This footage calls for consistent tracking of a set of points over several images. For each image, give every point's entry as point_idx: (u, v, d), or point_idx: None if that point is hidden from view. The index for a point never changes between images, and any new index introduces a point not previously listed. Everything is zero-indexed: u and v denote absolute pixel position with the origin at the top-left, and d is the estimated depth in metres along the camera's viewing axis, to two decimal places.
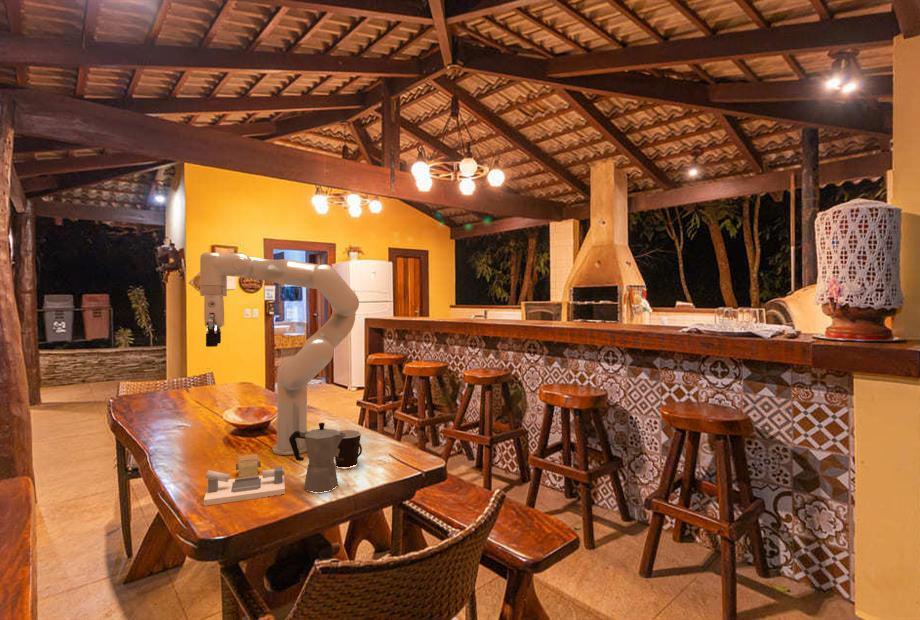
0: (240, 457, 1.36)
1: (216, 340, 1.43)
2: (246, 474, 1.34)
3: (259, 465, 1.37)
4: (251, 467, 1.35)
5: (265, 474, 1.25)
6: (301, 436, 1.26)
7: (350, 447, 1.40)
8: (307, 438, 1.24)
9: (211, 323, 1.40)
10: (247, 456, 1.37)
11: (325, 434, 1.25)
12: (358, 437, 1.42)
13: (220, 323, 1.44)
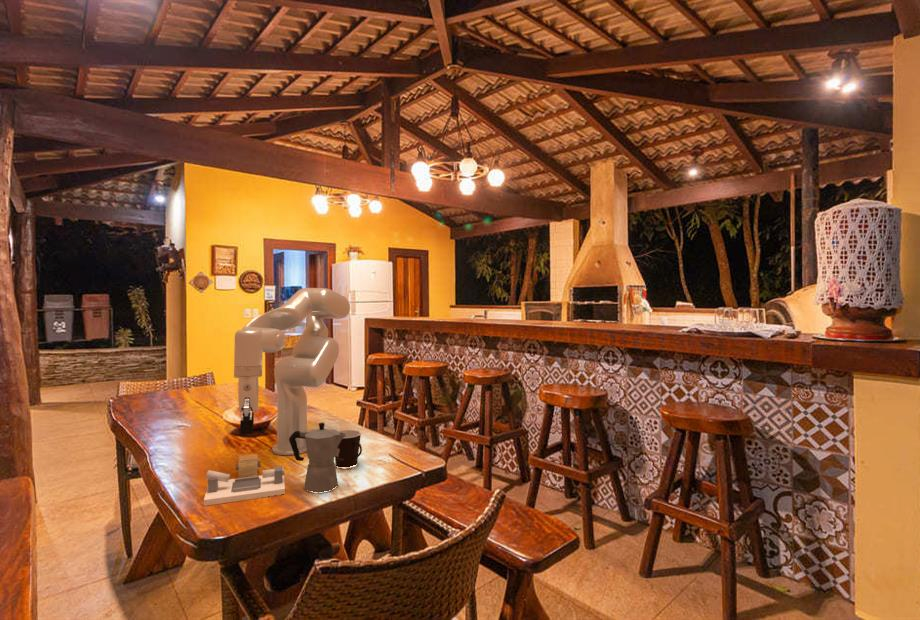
0: (240, 457, 1.36)
1: (251, 427, 1.31)
2: (246, 474, 1.34)
3: (259, 465, 1.37)
4: (251, 467, 1.35)
5: (265, 474, 1.25)
6: (301, 436, 1.26)
7: (350, 447, 1.40)
8: (307, 438, 1.24)
9: (247, 410, 1.28)
10: (247, 456, 1.37)
11: (325, 434, 1.25)
12: (358, 437, 1.42)
13: (255, 408, 1.32)
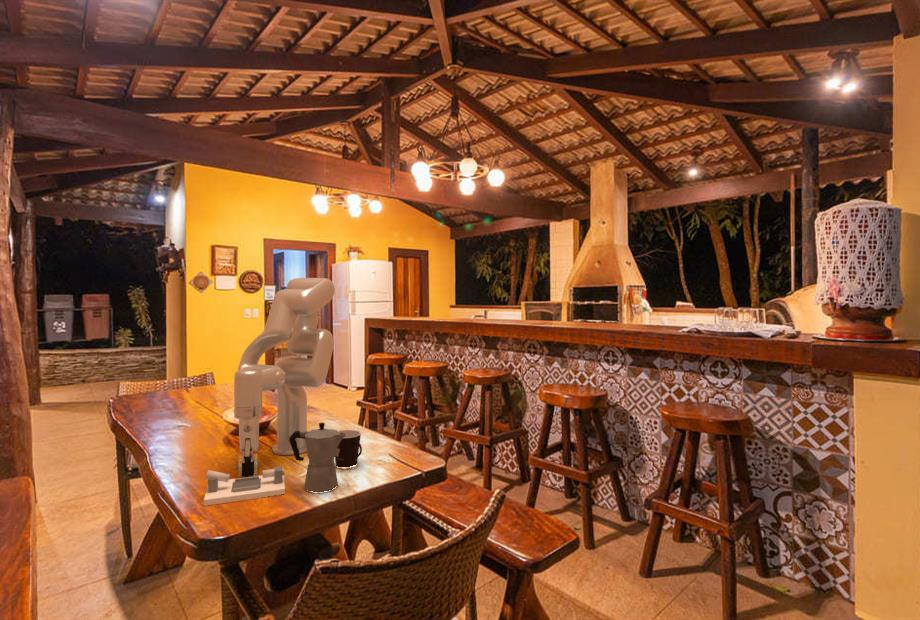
0: (240, 457, 1.36)
1: (252, 468, 1.34)
2: None
3: (259, 465, 1.37)
4: None
5: (265, 474, 1.25)
6: (301, 436, 1.26)
7: (350, 447, 1.40)
8: (307, 438, 1.24)
9: (248, 457, 1.30)
10: None
11: (325, 434, 1.25)
12: (358, 437, 1.42)
13: (256, 448, 1.33)
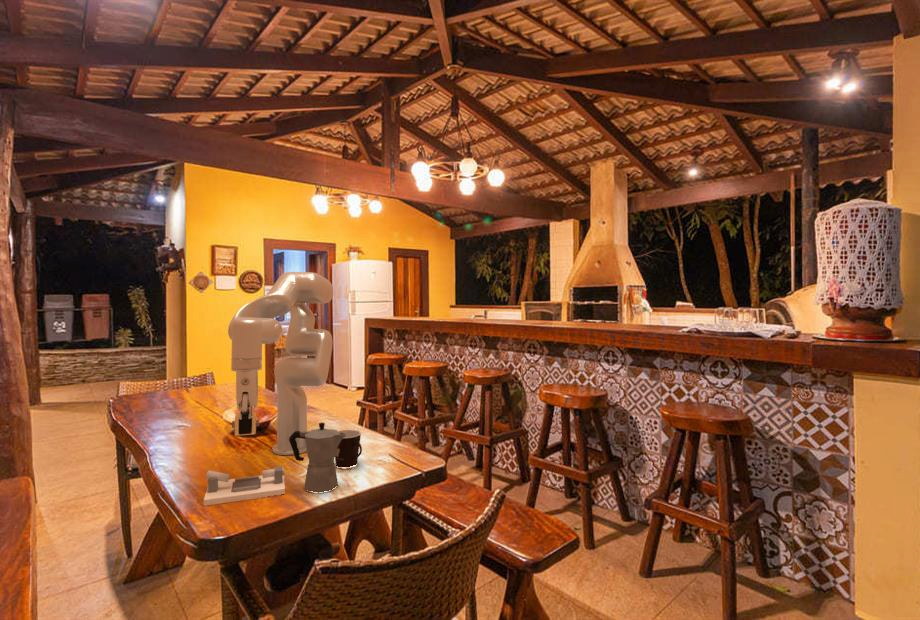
0: (237, 414, 1.25)
1: (250, 426, 1.23)
2: None
3: (257, 423, 1.26)
4: None
5: (265, 474, 1.25)
6: (301, 436, 1.26)
7: (350, 447, 1.40)
8: (307, 438, 1.24)
9: (245, 412, 1.19)
10: None
11: (325, 434, 1.25)
12: (358, 437, 1.42)
13: (255, 403, 1.22)
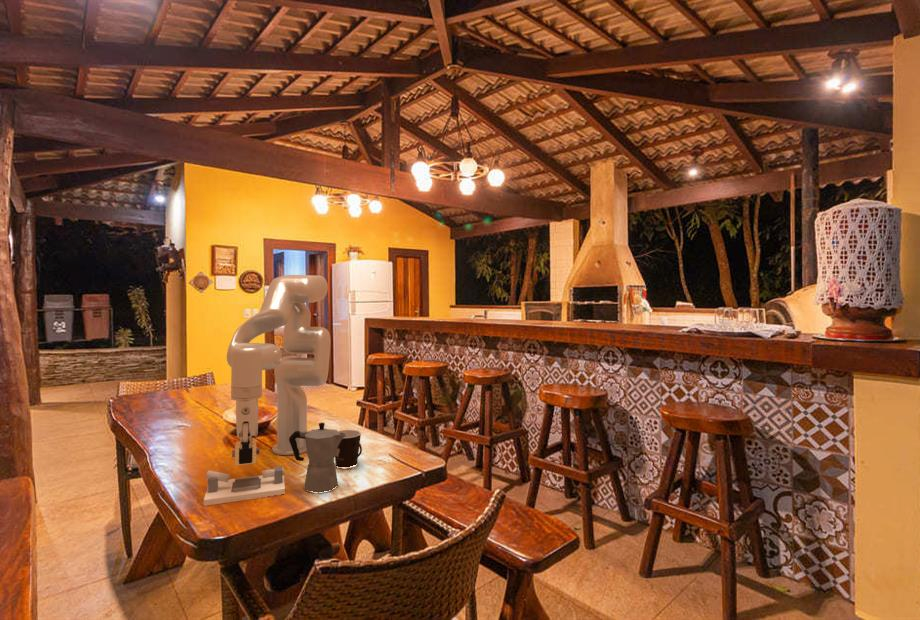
0: (237, 443, 1.23)
1: (251, 455, 1.22)
2: None
3: (258, 452, 1.24)
4: None
5: (265, 474, 1.25)
6: (301, 436, 1.26)
7: (350, 447, 1.40)
8: (307, 438, 1.24)
9: (246, 442, 1.18)
10: None
11: (325, 434, 1.25)
12: (358, 437, 1.42)
13: (255, 433, 1.20)
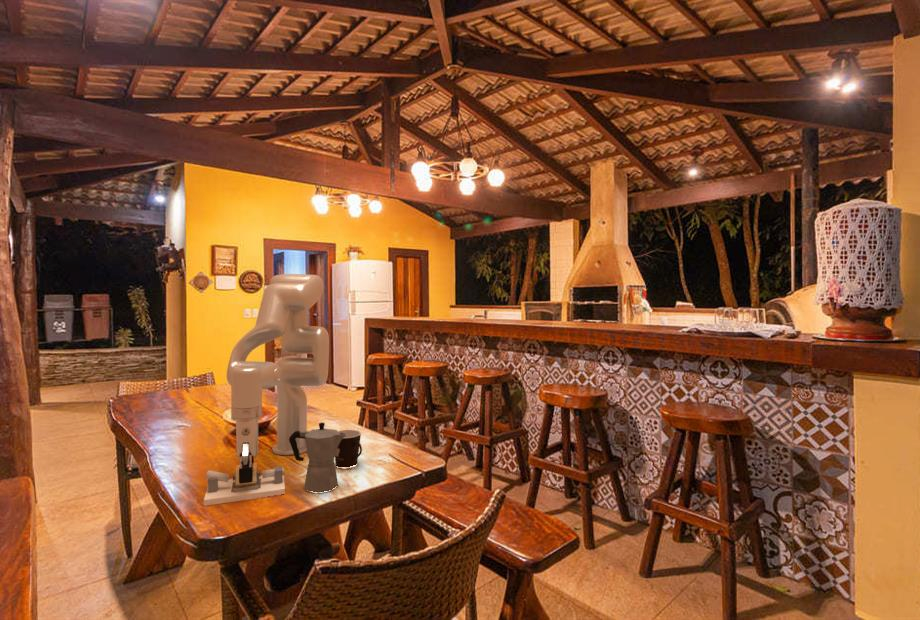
0: (237, 466, 1.24)
1: (251, 475, 1.20)
2: (244, 485, 1.22)
3: (258, 475, 1.25)
4: None
5: (265, 474, 1.25)
6: (301, 436, 1.26)
7: (350, 447, 1.40)
8: (307, 438, 1.24)
9: (246, 459, 1.17)
10: None
11: (325, 434, 1.25)
12: (358, 437, 1.42)
13: (255, 453, 1.21)
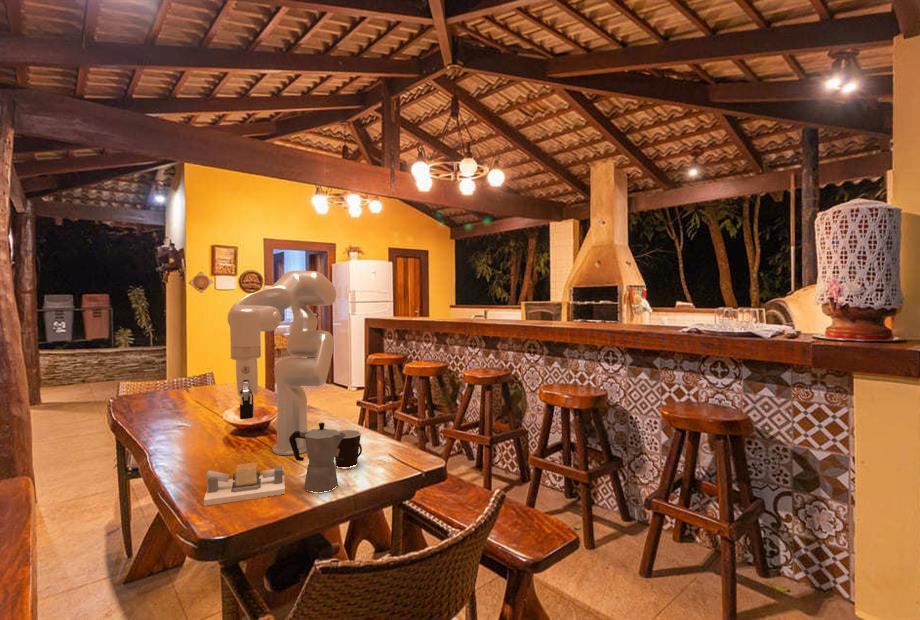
0: (237, 466, 1.24)
1: (251, 411, 1.24)
2: (244, 485, 1.22)
3: (258, 475, 1.25)
4: (249, 477, 1.23)
5: (265, 474, 1.25)
6: (301, 436, 1.26)
7: (350, 447, 1.40)
8: (307, 438, 1.24)
9: (246, 394, 1.20)
10: (245, 465, 1.25)
11: (325, 434, 1.25)
12: (358, 437, 1.42)
13: (255, 391, 1.24)
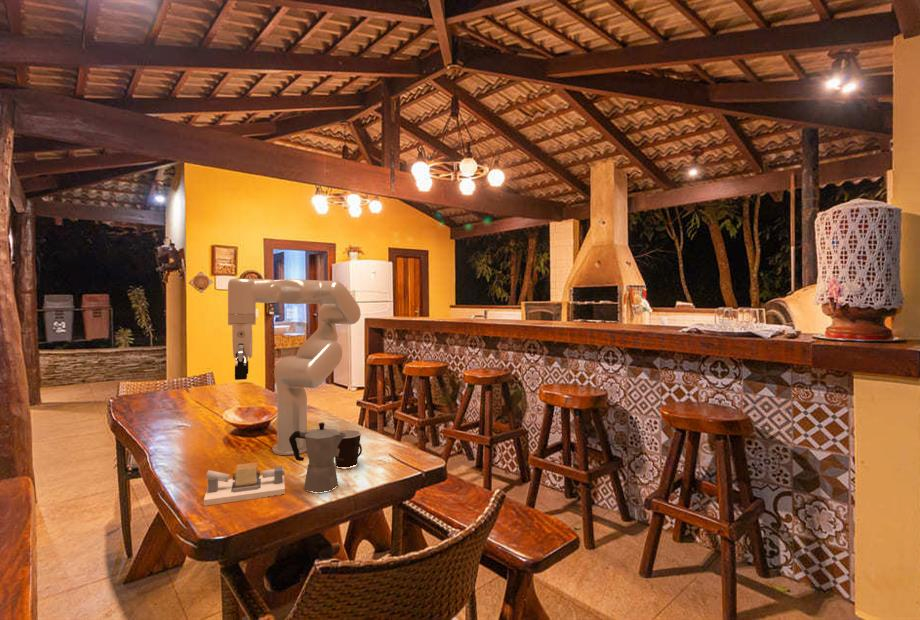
0: (237, 466, 1.24)
1: (245, 372, 1.34)
2: (244, 485, 1.22)
3: (258, 475, 1.25)
4: (249, 477, 1.23)
5: (265, 474, 1.25)
6: (301, 436, 1.26)
7: (350, 447, 1.40)
8: (307, 438, 1.24)
9: (241, 355, 1.31)
10: (245, 465, 1.25)
11: (325, 434, 1.25)
12: (358, 437, 1.42)
13: (249, 354, 1.35)
